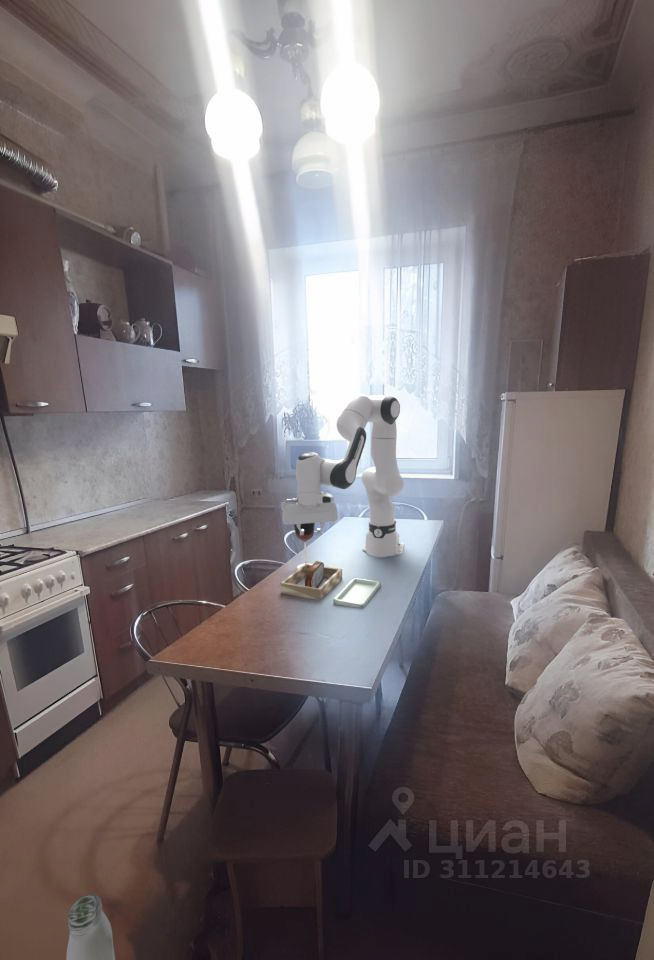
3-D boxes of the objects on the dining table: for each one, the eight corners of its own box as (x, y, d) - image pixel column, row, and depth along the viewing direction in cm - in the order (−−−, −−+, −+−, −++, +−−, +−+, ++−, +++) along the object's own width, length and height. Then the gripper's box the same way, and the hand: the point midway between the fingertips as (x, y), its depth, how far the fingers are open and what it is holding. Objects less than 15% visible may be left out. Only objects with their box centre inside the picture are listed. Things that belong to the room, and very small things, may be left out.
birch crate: (305, 573, 177) (305, 563, 176) (342, 578, 170) (342, 569, 170) (280, 593, 159) (280, 583, 158) (320, 600, 152) (320, 589, 152)
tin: (318, 577, 172) (317, 557, 171) (325, 578, 171) (325, 558, 170) (304, 594, 158) (303, 572, 157) (312, 595, 157) (311, 573, 156)
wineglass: (313, 571, 179) (312, 524, 175) (293, 569, 180) (291, 523, 177) (318, 563, 186) (316, 518, 183) (298, 562, 188) (296, 518, 184)
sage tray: (353, 583, 166) (353, 577, 166) (380, 587, 162) (380, 581, 161) (333, 605, 148) (333, 599, 148) (362, 611, 144) (362, 604, 144)
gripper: (280, 501, 154) (283, 539, 156) (337, 497, 157) (339, 534, 159) (280, 497, 160) (282, 533, 163) (335, 494, 163) (336, 529, 165)
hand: (310, 534), depth 161 cm, fingers open, 5 cm apart
